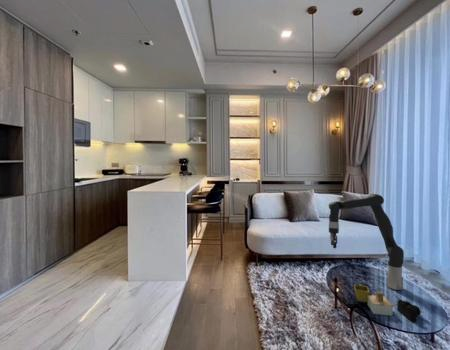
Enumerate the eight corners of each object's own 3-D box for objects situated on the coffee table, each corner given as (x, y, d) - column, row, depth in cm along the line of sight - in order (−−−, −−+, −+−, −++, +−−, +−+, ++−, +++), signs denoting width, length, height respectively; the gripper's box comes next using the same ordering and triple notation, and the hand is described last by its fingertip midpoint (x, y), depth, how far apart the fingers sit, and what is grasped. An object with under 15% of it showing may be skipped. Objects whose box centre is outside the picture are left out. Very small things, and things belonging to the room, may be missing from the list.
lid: (385, 299, 171) (385, 289, 171) (393, 308, 159) (393, 297, 159) (367, 297, 173) (367, 287, 173) (373, 306, 162) (373, 295, 162)
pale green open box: (385, 306, 171) (385, 297, 171) (392, 315, 160) (392, 306, 160) (367, 304, 173) (367, 296, 173) (373, 313, 162) (373, 304, 162)
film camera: (427, 323, 152) (427, 308, 152) (411, 323, 152) (411, 308, 152) (409, 309, 167) (409, 296, 167) (394, 309, 168) (395, 296, 167)
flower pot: (355, 302, 176) (355, 289, 176) (353, 296, 184) (354, 284, 184) (369, 304, 173) (369, 291, 173) (367, 298, 181) (367, 286, 181)
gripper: (340, 229, 195) (340, 249, 196) (336, 225, 209) (336, 244, 210) (330, 228, 197) (330, 249, 197) (327, 224, 211) (326, 243, 211)
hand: (333, 246), depth 203 cm, fingers open, 8 cm apart
